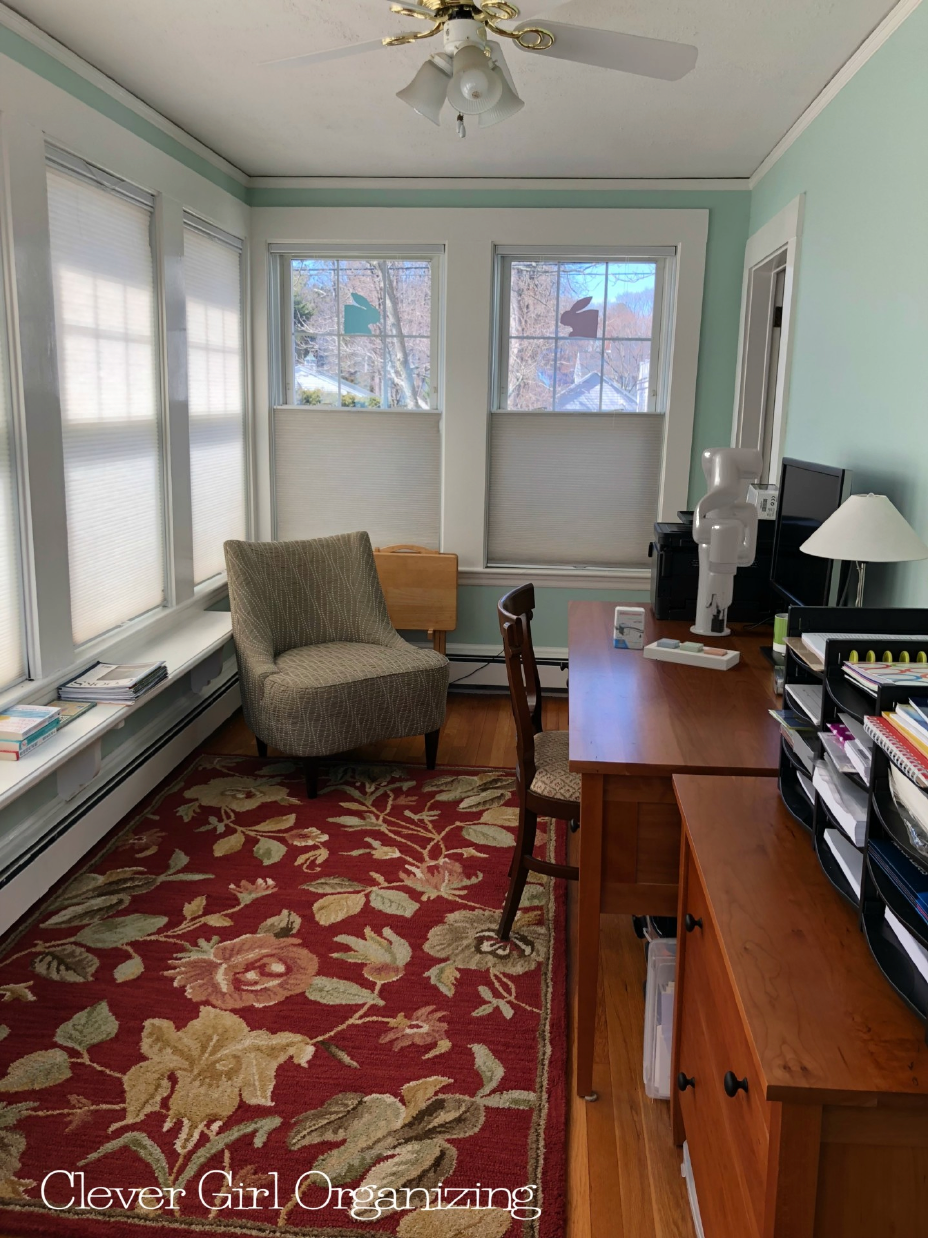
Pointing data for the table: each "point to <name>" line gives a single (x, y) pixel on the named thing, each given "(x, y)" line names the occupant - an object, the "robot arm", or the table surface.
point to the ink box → (629, 627)
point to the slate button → (668, 643)
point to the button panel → (692, 657)
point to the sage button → (691, 647)
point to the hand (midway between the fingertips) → (717, 631)
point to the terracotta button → (715, 652)
